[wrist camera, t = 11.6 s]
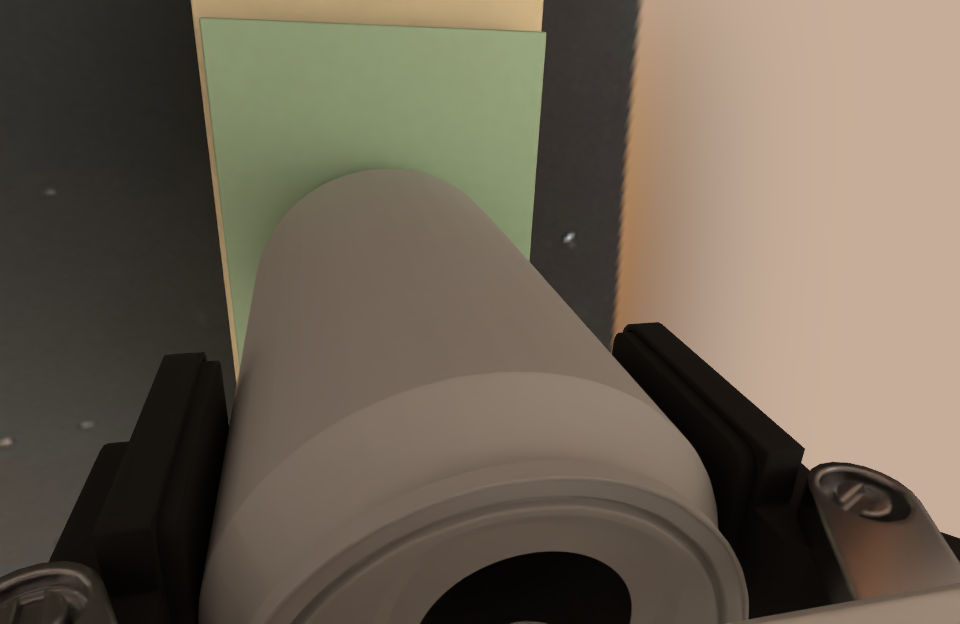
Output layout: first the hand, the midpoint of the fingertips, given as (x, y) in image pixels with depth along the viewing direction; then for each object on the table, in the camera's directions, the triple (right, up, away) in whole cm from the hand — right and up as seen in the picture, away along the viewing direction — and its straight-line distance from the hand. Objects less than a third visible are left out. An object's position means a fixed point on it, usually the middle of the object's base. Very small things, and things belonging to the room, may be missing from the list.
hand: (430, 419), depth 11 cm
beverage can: (-2, +3, +7) cm, 7 cm away
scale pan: (-2, +3, +7) cm, 8 cm away
